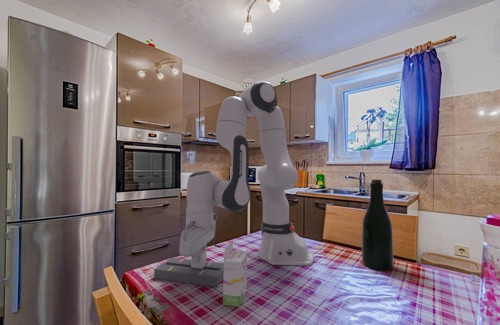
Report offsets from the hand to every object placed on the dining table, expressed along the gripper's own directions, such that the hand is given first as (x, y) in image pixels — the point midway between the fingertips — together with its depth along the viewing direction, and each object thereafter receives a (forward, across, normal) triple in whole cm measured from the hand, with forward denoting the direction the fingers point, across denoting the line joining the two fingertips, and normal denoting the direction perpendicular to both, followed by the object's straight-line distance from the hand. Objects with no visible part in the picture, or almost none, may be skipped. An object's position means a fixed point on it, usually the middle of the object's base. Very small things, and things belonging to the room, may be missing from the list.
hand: (198, 259), depth 74 cm
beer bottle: (+6, +24, -63) cm, 67 cm away
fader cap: (+4, 0, 0) cm, 4 cm away
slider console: (+5, 0, +2) cm, 6 cm away
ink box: (+6, -9, -16) cm, 19 cm away
